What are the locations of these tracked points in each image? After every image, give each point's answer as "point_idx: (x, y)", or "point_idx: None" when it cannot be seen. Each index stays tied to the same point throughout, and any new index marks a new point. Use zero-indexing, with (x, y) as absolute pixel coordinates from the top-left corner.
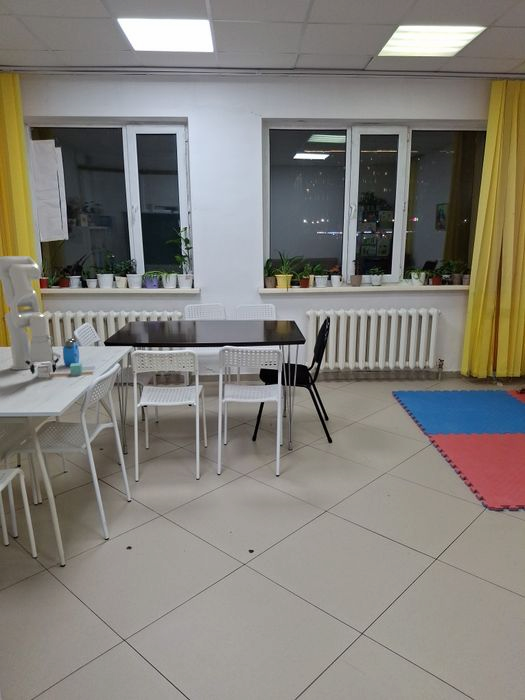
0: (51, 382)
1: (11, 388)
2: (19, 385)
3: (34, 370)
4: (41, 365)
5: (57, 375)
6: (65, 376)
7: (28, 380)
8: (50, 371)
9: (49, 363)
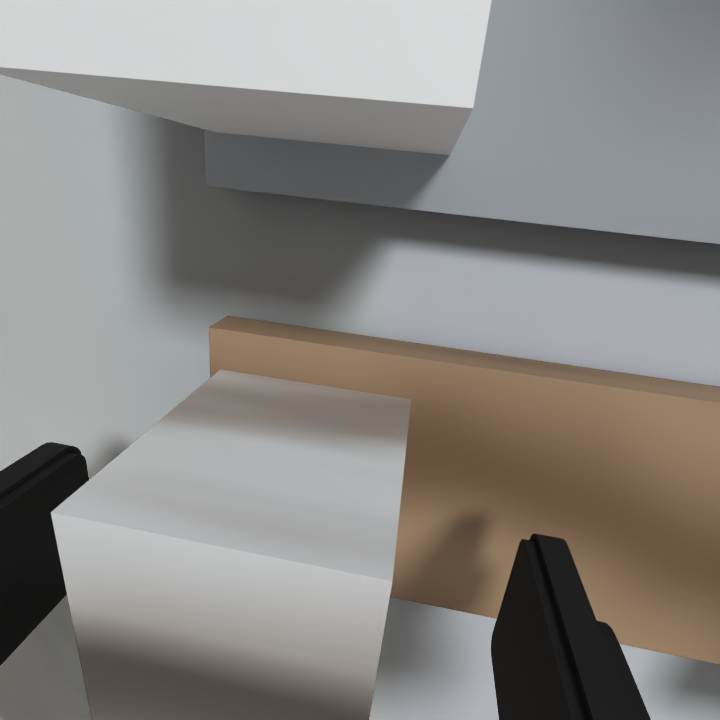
0: (441, 684)
1: (23, 681)
2: (63, 623)
3: (49, 498)
4: (128, 526)
5: (565, 538)
6: (705, 660)
7: (93, 457)
8: (422, 150)
9: (406, 109)
